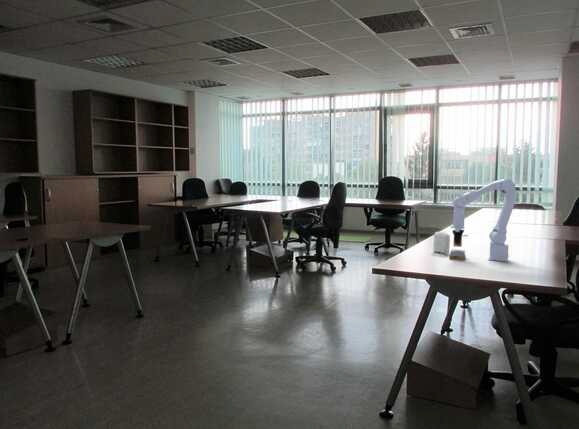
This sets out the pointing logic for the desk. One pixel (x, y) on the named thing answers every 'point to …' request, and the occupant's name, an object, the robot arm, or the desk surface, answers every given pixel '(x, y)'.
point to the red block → (458, 244)
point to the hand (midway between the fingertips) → (457, 243)
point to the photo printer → (441, 242)
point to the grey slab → (457, 252)
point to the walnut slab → (458, 257)
